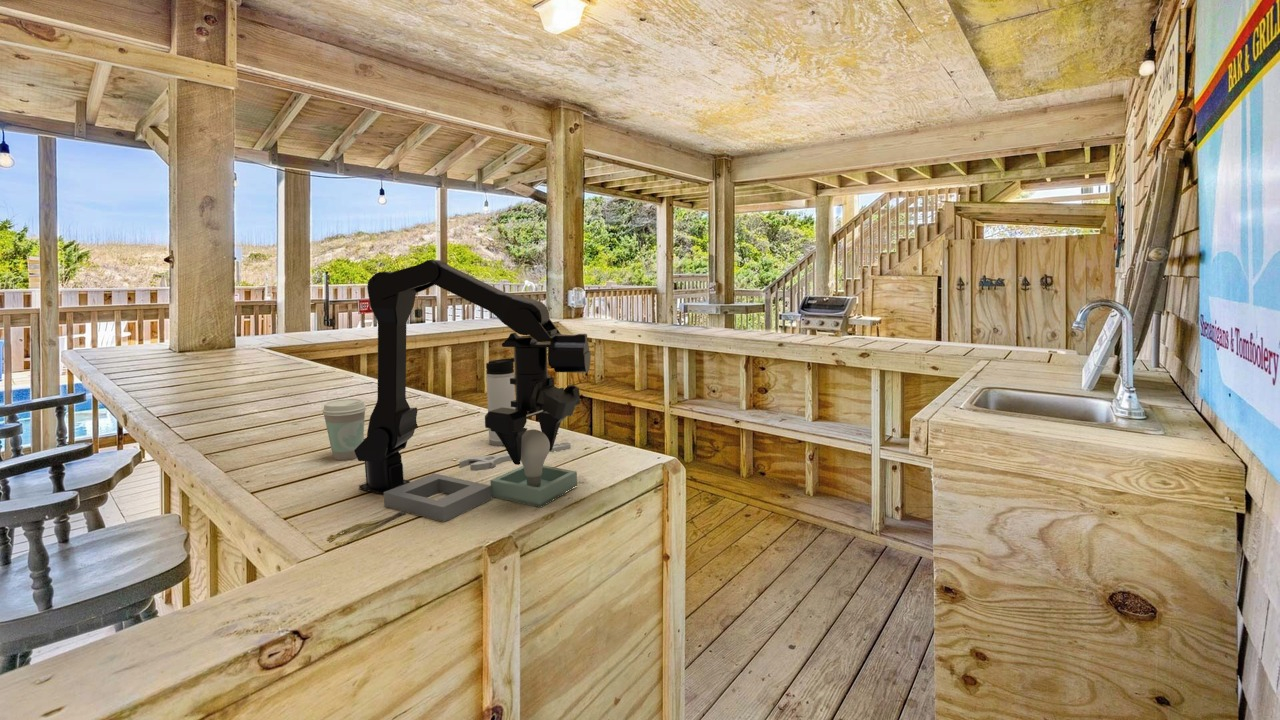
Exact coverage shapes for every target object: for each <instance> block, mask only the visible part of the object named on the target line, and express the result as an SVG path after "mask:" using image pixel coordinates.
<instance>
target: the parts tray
mask: <svg viewBox="0 0 1280 720" xmlns="http://www.w3.org/2000/svg"><path fill="white" fill-rule="evenodd" d="M489 481H490V482H489V483H490V484H489V485H490V486H491V498H492V497H493V498H497V499H501V500H505V501H510V502H515V503H519V504H522V503H523V504H522V505H527V504H528V506H531V505H533V506H532V507H536V506H539V507H538V508H540V507H541V506H542V507H544V506H546V505H547V504H546V503H548V502H550V501H551V502H553V501H554V500H553V499H555V498H557V497H558V496H560V495H562V494H564V493H565V492H566V491H568V490H570V489H572V488H573V487H575V486H577V487H578V473H577V471H576V470H571V469H564V468H559V467H554V466H550V465H549V466H548V465H544V464H543V469H542V475H541V485H540V486H539V487H533V486H528V485H527V482H526V481H527V480H526V475H525V471H524V466H523V465H521V466H519V467H518V468H514V469H512V470H510V471H508V472H505V473H504V474H503V473H502V474H501V475H499V476H496V477H494V478H493V479H490V480H489ZM564 495H565V494H564ZM562 496H563V495H562ZM560 497H561V496H560ZM557 499H558V498H557ZM552 500H553V501H552ZM555 500H556V499H555ZM551 502H550V503H551ZM545 504H546V505H545ZM548 504H549V503H548ZM543 505H544V506H543ZM542 507H541V508H542Z"/></svg>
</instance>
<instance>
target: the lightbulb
mask: <svg viewBox="0 0 1280 720" xmlns="http://www.w3.org/2000/svg"><path fill="white" fill-rule="evenodd" d="M549 449H550V443H549V440H548V438H547V436H546V435H545V434H544V433H543V432H542V431H541V430H538V429H527V430H526V432H525V433H524V434H523V435H522V441H521V461H520V463H521V464H522V466H524V471H525V475H526V480H527V481H526V482H527V485H528V486H533V487H539V486H540V485H541V475H542V469H543V465H544V463H545V460H547V457H548V455H549V454H550V453H549Z"/></svg>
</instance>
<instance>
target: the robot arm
mask: <svg viewBox="0 0 1280 720" xmlns="http://www.w3.org/2000/svg"><path fill="white" fill-rule="evenodd" d="M366 286H367V288H366V289H367V294H368V302H369V306H370V309H371V311H372V313H373V315H374V317H375V319H376V322H377V398H376V399H377V400H376V403H375V405H374V407H373V410H372V412H371V413H370V414H371V415H370V417H369V421H368V427H367V432H366V437H365V438H364V440H363V442H362V443H361V444H360V445H359V446H358V447H357V448H356V449H355V450H354V452H355V454H356V456H357V458H356V459H357V461H358V462H364V472H365V483H363V484H360V485H359V486H358V489H360V490H362V491H368V492H371V493H376V494H379V495H384V492H386V491H388V490H391V489H394V488H396V487H399V486H401V485H404V484H407V483H409V482H411V481H410V480H408V479H404V465H403V464H404V463H403V462H402V454H401V453H400V451H402V450H404V449H406V448H407V443H408V441H409V440H410V439H411V438H412V437H413V436H414V434H415V431H416V429H419V426H418V423H417V416H418V407H411V406H410V405H409V403H408V401H407V397H406V389H407V388H406V387H407V384H406V383H407V382H406V381H407V324H408V320H409V319H410V315H411V313H412V311H413V309H414V306H415V301H416V296H417V294H418V293H420V292H423V291H426V290H428V289H430V288H431V287H433V286H437V287H439V288H440V289H443V290H445V291H447V292H449V293H451V294H453V295H455V296H457V297H459V298H462V299H464V300H466V301H467V302H469V303H473V304H474V305H476V306H478V307H480V308H483V309H484V310H486V311H487V312H488V311H489V312H490V313H492V315H494V316H495V317H496V318H497V319H498V320H499V321H500V322H501V323H502V324H503V325H505V326H507V327H508V329H509V328H510V329H511V330H512V331H513V332H511V333H510V334H509V336H508V337H507V338H506V339H505V340H504V341H503V342H502V343H501V347H502V348H513V355H514V356H513V358H514V362H513V363H514V378H510V384H514V385H515V400H513V401H511V407H515V409H510V408H503V407H502V408H498V409H495V410H492V411H489V412H488V411H487V413H486V414H485V415H484V427H485V429H489V428H490V429H491V431H493V432H495V433H496V434H497V436H498V437H499V438H500V440H501V441H502V443H503V445H504V448H505V450H506V453H508V454H509V456H510V457H511V459H512V461H511V462H512V463H513V464H514V465H517V466H519V465H520V464H521V441H522V435H523V434H524V433H525V432H526V431H527V430H528V427H527V428H526V427H525V426H526V424H527V423H528V421H527V418H531V417H534V416H537V417H538V422H539V426H540V427H539V428H540V431H541V432H543V433H544V434H545V435H546V436H547V438H548V440H549V443H550V449H549V451H551V450H552V449H553V445H554V444H555V442H556V438H557V435H558V432H559V429H560V426H561V423H562V422H563V420H565V419H566V418H567V417H569V416H573V414H574V411H575V409H576V406H579V405H580V404H581V400H580V399H581V395H580V388H579V387H578V386H576V385H574V384H572V385H568V386H566V387H565V388H564V387H560V388H559V387H557V386H555V380H554V377H553V376H549V374H548V373H549V372H548V366H549V367H550V369H553V370H554V372H555V373H569V374H570V373H574V374H575V373H581V374H583V373H585V374H588V373H589V371H590V367H591V355H592V354H591V350H590V344H589V341H588V334H587V333H577V334H562V333H561V332H560V330H559V329H558V328H557V326H555V324H554V323H553V321H552V320H551V318H550V311H549V310H548V307H547V306H546V305H545V304H544V303H543V302H542V301H540V300H536V299H533V298H529V297H525V296H521V295H519V294H512V293H509V292H505V291H503V290H501V289H498V288H497V287H495V286H492V285H490V284H488V283H486V282H484V281H482V280H480V279H478V278H476V277H473V276H472V275H470V274H468V273H465V272H464V271H461V270H459V269H457V268H455V267H453V266H450V265H449V264H448V263H447V262H445V261H444V260H441V259H440V260H439V259H438V260H437V259H427V260H424V261H423V262H421V263H418V264H415V265H413V266H410V267H409V266H408V267H406V268H403V269H402V268H401V269H398V270H396V271H379V272H376V273H375V274H373V275H372V277H370V278H369V279H368V282H367V285H366ZM519 335H521V336H519Z"/></svg>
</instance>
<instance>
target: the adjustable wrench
mask: <svg viewBox="0 0 1280 720" xmlns="http://www.w3.org/2000/svg"><path fill="white" fill-rule="evenodd" d="M571 448H572V446H571V443H570V442H565V441H564V442H558V443H554V445H553V449H552V450H551V451H549V452H552V453H556V452H562V451H561V450H563V451H567V450H566V449H568V450H570V449H571ZM554 451H556V452H554ZM510 461H511V462H513V461H512V459H511V457H510V456H509V454H508V452H506V453H500V454H490V455H474V456H473V455H472V456H467V457H463V458H461V459H460V460H459V468H461V469H462V468H464V467H467V466H469V468H470V469H469V470H470V471H471V472H472V471H483V470H484V471H485V470H488V469H493V468H494V467H496V466H497V465H498V464H501V463H507V462H510Z"/></svg>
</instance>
